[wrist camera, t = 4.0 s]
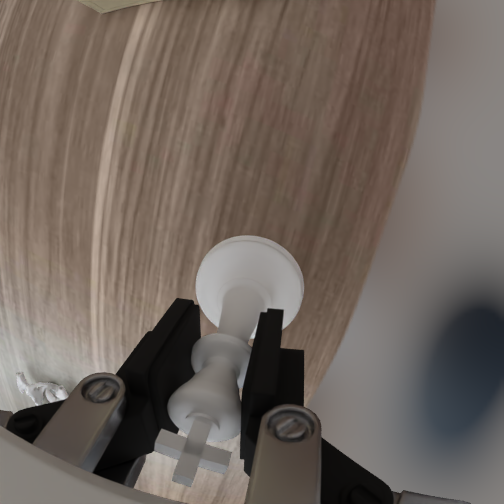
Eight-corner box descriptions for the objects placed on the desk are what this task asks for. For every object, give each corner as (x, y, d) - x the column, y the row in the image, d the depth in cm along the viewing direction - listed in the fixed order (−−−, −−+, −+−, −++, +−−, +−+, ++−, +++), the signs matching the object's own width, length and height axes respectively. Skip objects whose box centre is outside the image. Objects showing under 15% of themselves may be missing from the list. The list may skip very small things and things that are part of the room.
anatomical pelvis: (56, 401, 22) (78, 451, 23) (79, 377, 26) (96, 426, 27) (3, 380, 23) (25, 428, 24) (26, 361, 27) (43, 408, 28)
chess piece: (283, 344, 16) (259, 534, 6) (189, 313, 16) (89, 477, 6) (319, 255, 14) (345, 453, 4) (211, 220, 14) (68, 360, 5)
